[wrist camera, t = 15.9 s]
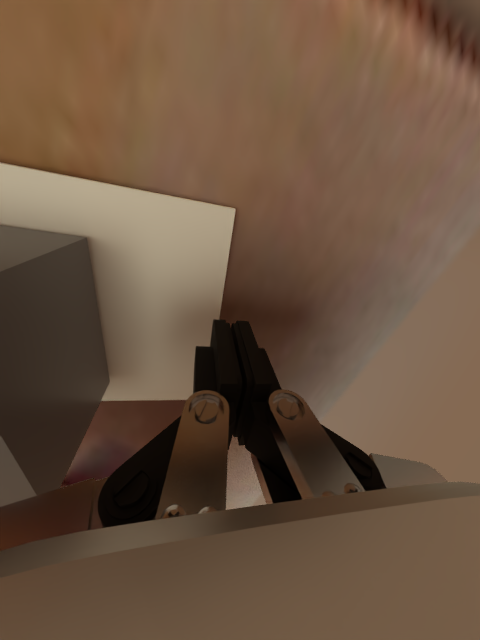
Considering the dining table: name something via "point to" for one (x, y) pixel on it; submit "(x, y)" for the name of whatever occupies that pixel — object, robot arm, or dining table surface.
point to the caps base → (135, 270)
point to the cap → (46, 358)
